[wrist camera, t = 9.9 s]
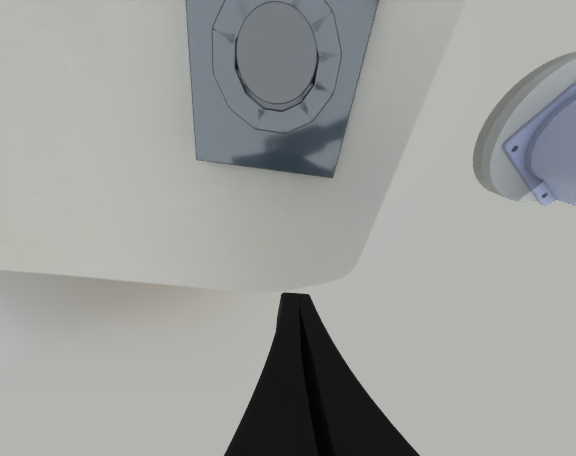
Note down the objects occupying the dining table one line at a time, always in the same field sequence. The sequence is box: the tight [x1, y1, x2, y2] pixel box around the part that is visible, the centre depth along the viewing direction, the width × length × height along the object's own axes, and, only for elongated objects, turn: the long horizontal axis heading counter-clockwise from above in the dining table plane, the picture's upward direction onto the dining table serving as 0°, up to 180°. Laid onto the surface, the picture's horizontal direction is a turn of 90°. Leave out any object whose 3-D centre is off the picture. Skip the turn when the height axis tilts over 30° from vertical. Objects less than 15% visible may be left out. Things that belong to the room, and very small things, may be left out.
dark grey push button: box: [236, 1, 317, 104], centre depth 10 cm, size 4×4×2 cm
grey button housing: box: [186, 0, 379, 178], centre depth 13 cm, size 12×10×4 cm
